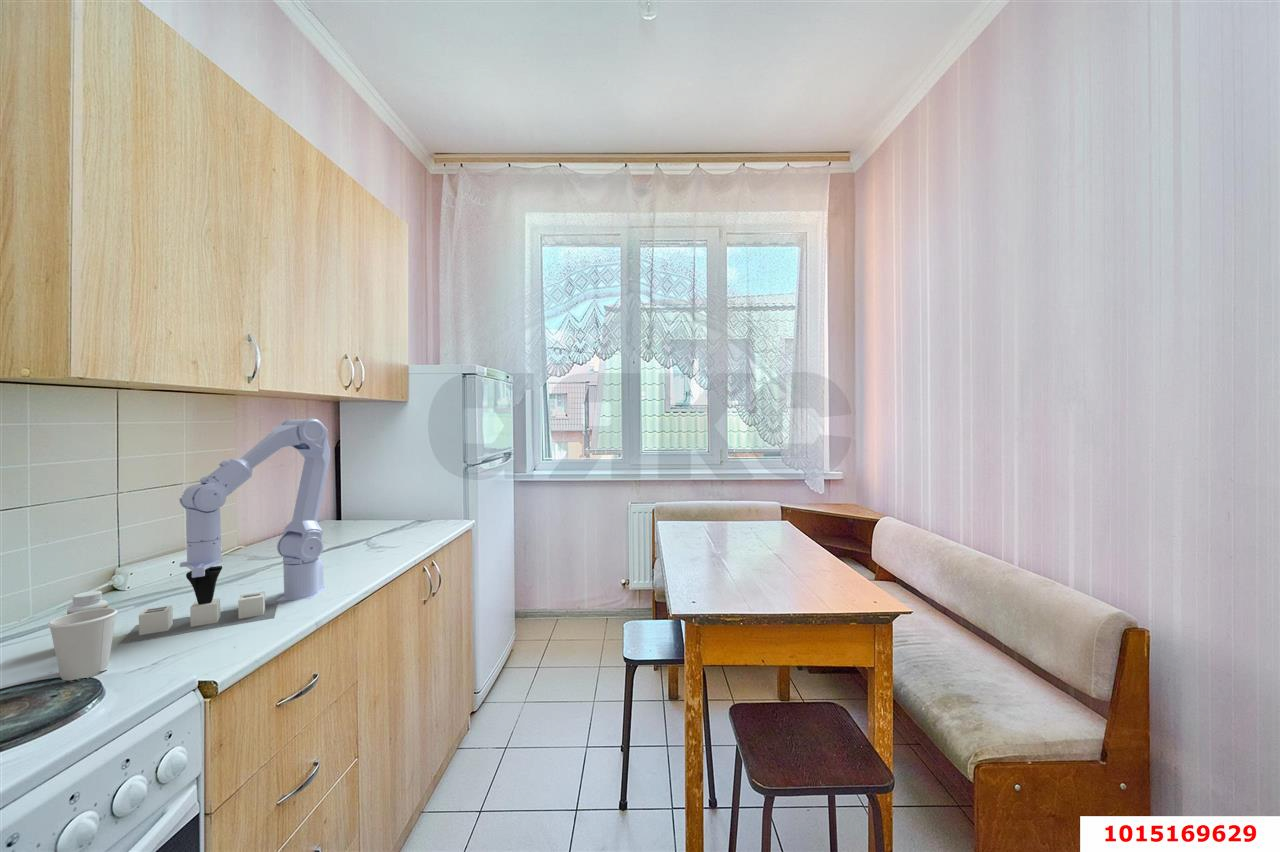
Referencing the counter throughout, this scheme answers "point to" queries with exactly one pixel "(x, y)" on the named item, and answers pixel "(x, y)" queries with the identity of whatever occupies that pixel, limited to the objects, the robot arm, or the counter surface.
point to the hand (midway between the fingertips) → (205, 603)
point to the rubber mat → (185, 625)
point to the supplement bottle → (87, 602)
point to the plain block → (205, 613)
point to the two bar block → (155, 620)
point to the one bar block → (251, 605)
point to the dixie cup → (83, 642)
